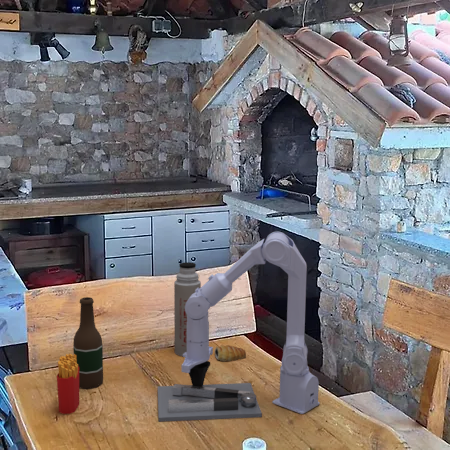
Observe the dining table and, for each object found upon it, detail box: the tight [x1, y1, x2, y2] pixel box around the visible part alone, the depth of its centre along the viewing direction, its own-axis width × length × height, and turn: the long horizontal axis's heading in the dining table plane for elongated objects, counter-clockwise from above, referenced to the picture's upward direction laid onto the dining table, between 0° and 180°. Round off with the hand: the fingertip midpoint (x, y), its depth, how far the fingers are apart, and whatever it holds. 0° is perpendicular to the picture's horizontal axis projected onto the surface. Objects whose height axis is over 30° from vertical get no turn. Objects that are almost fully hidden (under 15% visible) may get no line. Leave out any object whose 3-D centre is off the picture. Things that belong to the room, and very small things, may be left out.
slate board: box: [157, 382, 263, 422], centre depth 166 cm, size 25×18×1 cm
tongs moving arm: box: [172, 383, 257, 407], centre depth 165 cm, size 22×5×2 cm, turn 77°
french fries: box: [56, 353, 80, 415], centre depth 162 cm, size 9×4×13 cm, turn 177°
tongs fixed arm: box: [168, 398, 238, 413], centre depth 160 cm, size 17×2×2 cm, turn 97°
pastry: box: [214, 344, 247, 362], centre depth 197 cm, size 9×7×4 cm
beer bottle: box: [72, 296, 104, 390], centre depth 175 cm, size 8×8×24 cm
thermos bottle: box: [173, 261, 202, 357], centre depth 198 cm, size 8×8×28 cm
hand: (197, 389), depth 169 cm, fingers closed
